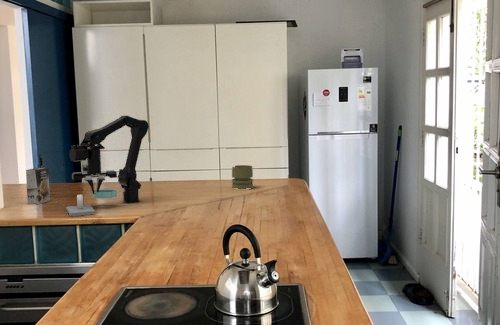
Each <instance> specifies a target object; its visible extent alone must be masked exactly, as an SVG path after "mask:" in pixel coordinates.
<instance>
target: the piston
mask: <svg viewBox="0 0 500 325" xmlns="http://www.w3.org/2000/svg"><path fill="white" fill-rule="evenodd" d="M253 170H254V169H253V165H248V164H247V165H243V164H241V165H239V164H237V165H234V166H232V168H231V177H232V178H231V187H232V188H238V189H246V188H252V187H253V188H254V185H253V184H254V179H253V177H254V171H253ZM232 188H231V189H232Z"/></svg>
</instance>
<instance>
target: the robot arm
mask: <svg viewBox="0 0 500 325" xmlns="http://www.w3.org/2000/svg"><path fill="white" fill-rule="evenodd" d="M125 126H126V127H128V128H130V136H131V138H130V139H131V140H130V143H129V147H128V152H127V157H126V159H125V163H124V164H125V165H124V166H123V168H119V170H118V174H117V171H116V170H111V169H110V170H106V171H105V172H102V164H101V163H102V161H101V160H102V159H101V158H102V157H101V156H102V155H101V150H104V149H106V148H105V147H104V145H102V143H103V141H105V140H106V138H107V137H108V136H110V135H111V134H113V133H115V132H116V131H118V130H120V129H121V128H124V127H125ZM149 127H150V125H149V122H148V121H147V120H145V119H138V118H135V117H131V116H130V115H121V116H119V118H116V119H114V120H113V121H111V122H109V123H108V124H106V125H104V126H102V127H99V128H96V129H92V130H89V131H87V132H85V134H84V137H83V139H82V140H81V142H80V144H79V145H70V147H71V148H70V149H69V153H68V155H69V159H70V161H71V162H82V161H86V160H87V162H86V163H84V164H81V165H82V166H81V167H82V168H81V169H82V171H77V172H72V173H71V179H72V180H73V181H81V180H84V181H85V182H87V183H88V185H89V187H90V190H91V193H92V195H94V191H95V190H96V191H97V192H99V190H101V189H100V188H101V187H102V184H103V182H104V181H106V177H108V178H110V179H113V178H115V179H116V178H117V180H118V181H117V182H118V183H119V184H120V187H121V189H123V191H122V201H123V202H124V203H127V204H129V203H139V202H140V199H139V190H141V188H142V184H141V182H139V181H138V180H137V175H138V174H137V171H136V167H137V163H138V158H139V154H140V150H141V145H142V143H143V142H142V141H143V139H144V138H145V136H146V135H147V133H148V132H149ZM85 172H86V173H85ZM93 178H96V189H95V187H94V180H93Z"/></svg>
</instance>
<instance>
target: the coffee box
mask: <svg viewBox="0 0 500 325" xmlns="http://www.w3.org/2000/svg"><path fill="white" fill-rule="evenodd" d="M25 174H26V175H25V177H26V179H25V180H26V196H27V197H26V201H27V205H28V204H30V205H41V204H43V203H46V202H50V201H51V195H50V178H49V177H50V176H49V175H50V174H49V168H48V167H34V168H29V169H25Z"/></svg>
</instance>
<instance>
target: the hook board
mask: <svg viewBox="0 0 500 325" xmlns="http://www.w3.org/2000/svg"><path fill="white" fill-rule="evenodd" d="M65 211H66V212H67V213H69V214H68V215H70V216H73V217H82V216H81V215H84V216H91V215H90V214H95V215H96V210H95V209H94V207H93V206H92V205H91V204H84V196H83V194H77V195H76V205H72V206H66V210H65ZM70 216H69V217H70Z"/></svg>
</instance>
